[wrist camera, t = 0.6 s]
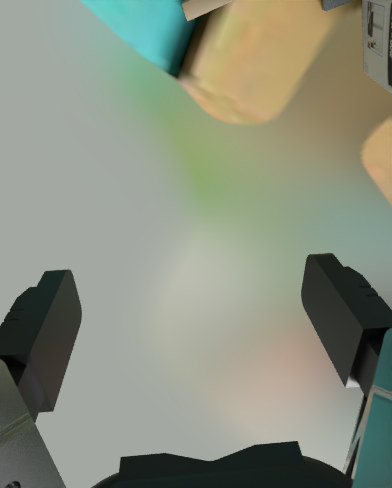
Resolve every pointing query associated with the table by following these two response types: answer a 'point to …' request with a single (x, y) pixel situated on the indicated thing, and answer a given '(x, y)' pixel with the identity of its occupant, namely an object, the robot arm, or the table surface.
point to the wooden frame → (200, 7)
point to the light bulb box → (378, 41)
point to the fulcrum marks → (332, 3)
